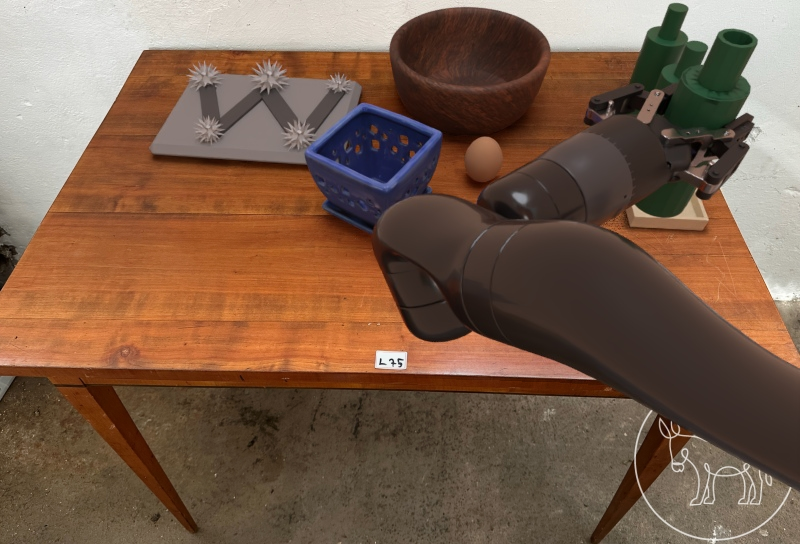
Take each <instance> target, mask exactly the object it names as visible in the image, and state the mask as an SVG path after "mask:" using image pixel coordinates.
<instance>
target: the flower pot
mask: <svg viewBox="0 0 800 544" xmlns="http://www.w3.org/2000/svg"><path fill="white" fill-rule="evenodd" d="M372 127H374V128H375V129H377V131H376V132H374V131H373V130H372ZM385 136H386V138H385ZM401 137H406V138H407V143H404V142H402V138H401ZM443 137H444V136H443V133H442V132H440V131H439V130H436V129H434V128H431V127H429V126H427V125H424V124H422V123H420V122H419V121H418V120H416V119H412V118H410V117H407V116H405V115H403V114H399V113H397V112H394V111H391V110H388V109H386V108H383V107H381V106H377V105H374V104H371V103H366V102H361V103H360V104H358V105H357V107H355V108H354V109H353V110H351V111H350V112H349V113H348V114H346V115H345V116H344V117H343V118H341V119H340V120H339V121H338V122H337V123H336V124H334V125H333V126H332V127H331V128H330V129H329V130H327V131H326V132H325V133H324V134H323V135H322V136H320V137H319V138H318V139H317V140H316V141H315V142H314V143H312V144H311V145H310V146H309V147H308V148H307V149H306V151H305V153H304V154H305V160H306V163H307V165H306V166H307V169H308V171H309V174H310V175H311V178H312V180H313V181H314V183H315V185H316V187H317V188H318V189H319V191H320V192H321V194H322V195H323V196H324V197H325V198H326V199H325V200H324V201H323V203H321V209H323V211H325V212H327V214H330V215H332V216H334V217H335V218H338V219H339V220H341V221H343V222H345V223H348V224H349V225H351V226H352V227H353V226H354V227H355V228H358V229H359V230H361V231H363V232H365V233H368V234H370V236H372V233H373V228H374V226H375V224H376V222H377V220H378V218H379V217H380V215H381V214H382V213H383V212H384V211H385V210H386V209H387V208H388V207H389V206H391V205H392V204H394V203H395V202H397V201H399V200H401V199H403V198H406V197H409V196H413V195H418V194H426V193H433V188H432V187H431V186H429V184H430V182H431V180H432V178H433V176H434V174H435V172H436V169H437V166H438V165H439V160H440V156H441V150H442V146H443ZM347 141H348V145H349V147H347V148H346V150H345V148H344V144H345V143H346V142H347ZM373 141H377V142H378V148H377V147H374V143H373ZM357 146H358V148H359V149H358V151H356V150H357V149H356V148H357ZM394 148H395V149H396V151H395V150H394ZM333 151H334V152H333ZM411 152H413V153H414V155H413V156H412V157H411ZM337 159H338V161H339V163H337V162H336V160H337Z"/></svg>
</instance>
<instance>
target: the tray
mask: <svg viewBox="0 0 800 544" xmlns="http://www.w3.org/2000/svg"><path fill="white" fill-rule="evenodd" d="M697 189H698V188H696V190H695V192H694V194H693V196H692V197H691V199H690V201H689V203H688V204H687V206H686V207H685V209H684V210H683V212H682V213H681V214H679V215H677V216H675V217H671V218H660V217H655V216H651V215H649V214H646V213H644V212H643V211H641V210H640V209H638V208H637V207H636V206H635V204H634V205H633V206H631V207H630V208H628V209H626V210H625V213H626V216H627V221H628V225H629V227H630V228H646V229H663V230H665V229H666V230H667V229H668V230H685V231H690V230H691V231H704V229H705V228H706V226H707V224H708V223H709V221H710V219H709V216H708V214H707V212H706V211H707V210H706V208H705V206H704V203H703V200H701V199H699V198H698V197H697V196H696V195H695V193H696V191H697Z"/></svg>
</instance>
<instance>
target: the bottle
mask: <svg viewBox="0 0 800 544" xmlns="http://www.w3.org/2000/svg"><path fill="white" fill-rule="evenodd" d="M758 42H759V39H758V37H757V36H756V35H754V34H753V33H751V32H749V31H746V30H744V29H737V28H724V29H721V30H719V31H718V32H717V35H716V36H715V39H714V40H713V43H712V45H711V47H710V50H709V52H708V54H707V56H706V58H705V60H704V63H703V64H701V65H696V66H692V67H689V68H687V69H686V70H685V71H683V73H682V75H681V77H680V79H679V82H678V84H677V86H676V89H675V91H674V93H673V95H672V98H671V100H670V102H669V105H668V107H667V109H666V111H665V114H664V116H663V117H664V118H665V119H667V120H668V121H669V122H670V123H671V124H673V125H675V126H678V127H680V128H682V129H689V128H696V127H705V128H706V129H707V130H715V129H722V128H723V127H724V126H725V125H726V124H728V123H730V122H732V121H733V120H735V119H736V118H738V117H739V114H740V112H741V110H742V109H743V107H744V105H745V103H746V101H747V99H748V98H749V96H750V94H751V89H752V87H751V84H750V83H749V81H748V80H747V79H746V77H745V76H743V75H742V74H743V73H744V70H745V69H746V67H747V65H748V63H749V62H750V60H751V57H752V55H753V54H754V52H755V49H756V48H757V46H758ZM712 144H713V143H712ZM712 144H710V145H709V146H708V147H711V146H712ZM709 161H713V160H709ZM709 161H702V162H701V163H699V164H698V165H697V166H694V167H701V166H703V165H707V164H708V162H709ZM696 188H697V187H695V186H693V185H691V184H689V183H687V182H685V181H683V180H680V181H678V182H673V183H666V184H664V185H662V186H661V187H660V188H659V189H657V190H656V191H655V192H653V193H652V194H651V195H649V196H647V197H646V198H644V199H642V200H641V201H639V202H638V203H636V204H635V206H636V207H637V208H638V209H640V210H641V211H643V212H644V213H646V214H649V215H651V216H655V217H660V218H671V217H675V216H677V215H679V214H681V213H682V212H683V210H684V209H685V207H686V206H687V204H688V203H689V201H690V199H691V197H692V196H693V194H694V192H695V190H696ZM697 189H698V188H697Z"/></svg>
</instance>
